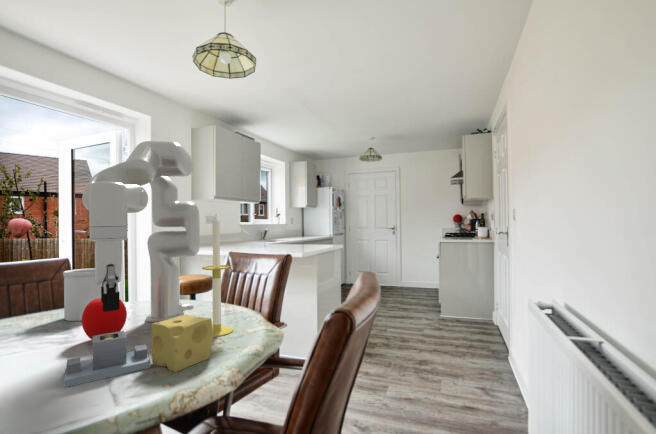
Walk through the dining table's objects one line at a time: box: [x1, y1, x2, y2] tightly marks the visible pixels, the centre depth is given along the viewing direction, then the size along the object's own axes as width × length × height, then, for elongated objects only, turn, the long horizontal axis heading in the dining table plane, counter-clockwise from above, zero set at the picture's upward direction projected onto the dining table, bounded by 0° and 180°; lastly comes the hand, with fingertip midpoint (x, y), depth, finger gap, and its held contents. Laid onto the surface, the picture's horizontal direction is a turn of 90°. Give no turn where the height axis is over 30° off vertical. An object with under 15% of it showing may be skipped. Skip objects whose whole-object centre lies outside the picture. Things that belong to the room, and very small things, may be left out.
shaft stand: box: [63, 338, 151, 388], centre depth 79 cm, size 16×10×7 cm, turn 126°
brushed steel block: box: [92, 330, 127, 371], centre depth 79 cm, size 6×6×6 cm
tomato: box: [81, 298, 128, 341], centre depth 100 cm, size 11×11×13 cm
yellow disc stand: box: [201, 214, 234, 338], centre depth 106 cm, size 10×10×38 cm
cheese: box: [151, 314, 213, 373], centre depth 84 cm, size 10×11×10 cm
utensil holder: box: [62, 267, 102, 322], centre depth 127 cm, size 15×15×18 cm
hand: (110, 305), depth 80 cm, fingers open, 9 cm apart
